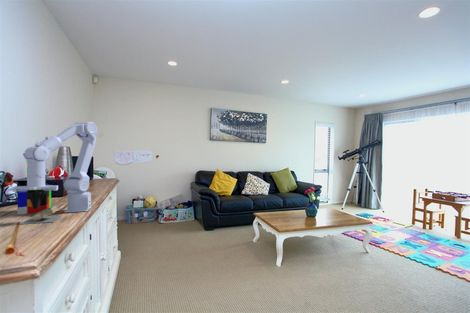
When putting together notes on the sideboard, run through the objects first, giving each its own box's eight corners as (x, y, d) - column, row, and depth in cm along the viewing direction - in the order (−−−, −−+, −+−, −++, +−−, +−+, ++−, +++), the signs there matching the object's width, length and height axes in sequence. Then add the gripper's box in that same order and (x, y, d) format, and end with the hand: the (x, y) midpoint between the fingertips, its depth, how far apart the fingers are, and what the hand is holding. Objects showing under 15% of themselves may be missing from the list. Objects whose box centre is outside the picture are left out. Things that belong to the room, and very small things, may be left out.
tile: (40, 218, 98) (58, 209, 100) (34, 221, 93) (53, 212, 95) (37, 213, 97) (55, 204, 99) (31, 216, 92) (50, 207, 95)
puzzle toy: (17, 214, 103) (17, 192, 103) (25, 209, 112) (25, 189, 112) (45, 212, 108) (45, 191, 108) (50, 207, 117) (51, 188, 117)
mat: (60, 216, 101) (61, 216, 101) (53, 222, 93) (53, 221, 93) (30, 218, 98) (30, 217, 98) (19, 224, 90) (19, 223, 90)
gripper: (8, 176, 89) (8, 211, 89) (53, 176, 93) (53, 209, 94) (18, 175, 95) (18, 207, 96) (60, 174, 100) (60, 205, 100)
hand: (36, 208), depth 95 cm, fingers closed
